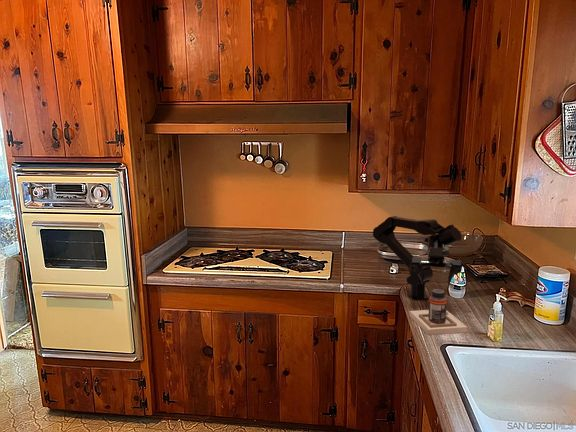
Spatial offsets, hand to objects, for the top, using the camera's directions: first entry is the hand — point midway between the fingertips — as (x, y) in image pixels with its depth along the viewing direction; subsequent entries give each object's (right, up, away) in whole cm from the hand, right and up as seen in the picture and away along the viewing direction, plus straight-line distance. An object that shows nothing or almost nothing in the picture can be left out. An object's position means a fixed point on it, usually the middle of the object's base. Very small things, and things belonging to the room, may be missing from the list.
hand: (435, 284), depth 161 cm
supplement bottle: (-2, -12, -8) cm, 14 cm away
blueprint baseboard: (-1, -13, -5) cm, 14 cm away
